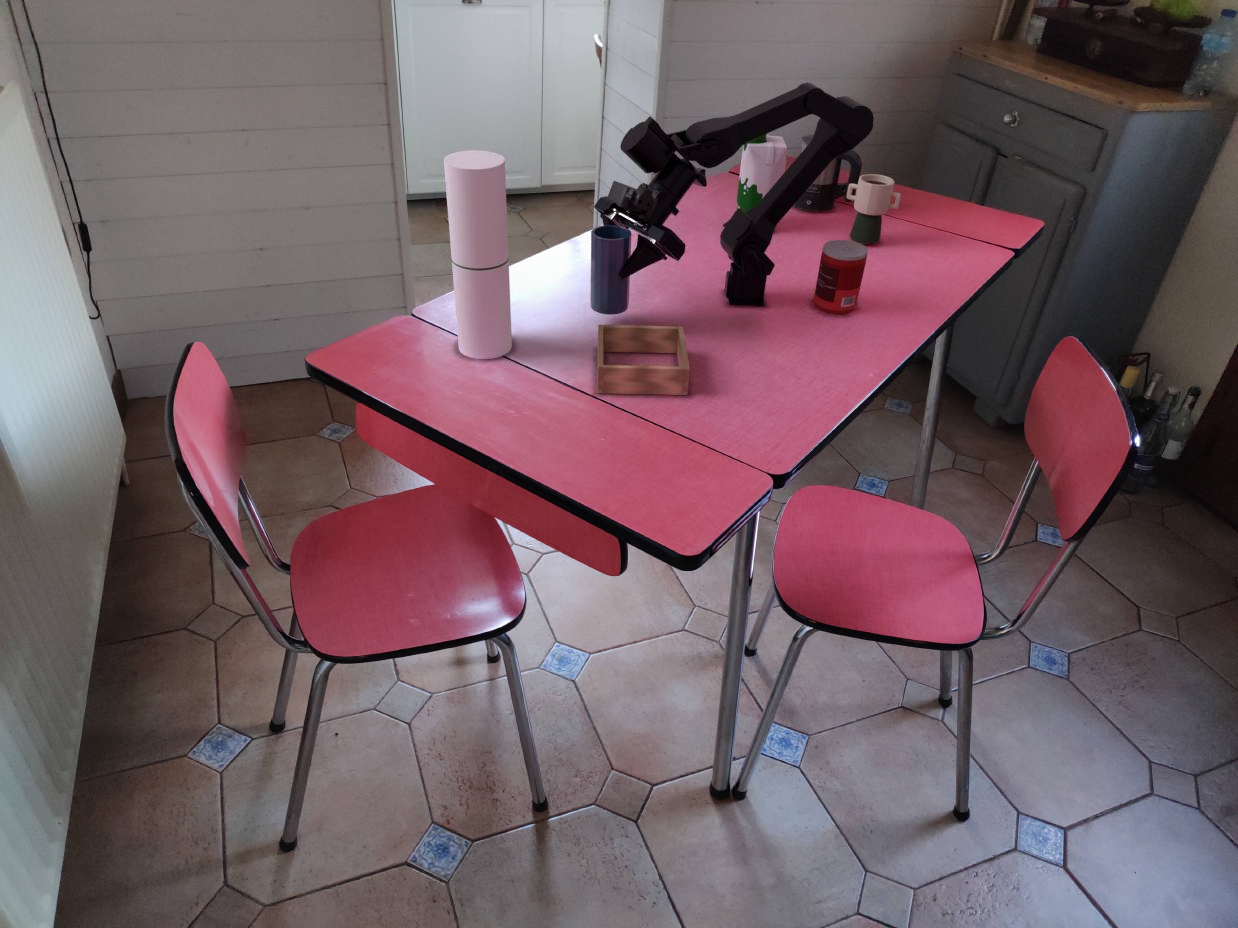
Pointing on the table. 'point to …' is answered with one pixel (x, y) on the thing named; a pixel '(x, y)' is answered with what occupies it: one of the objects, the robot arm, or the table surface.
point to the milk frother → (829, 182)
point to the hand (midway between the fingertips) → (608, 270)
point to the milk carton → (760, 169)
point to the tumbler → (609, 269)
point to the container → (479, 251)
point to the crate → (642, 377)
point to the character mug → (871, 206)
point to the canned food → (840, 276)
